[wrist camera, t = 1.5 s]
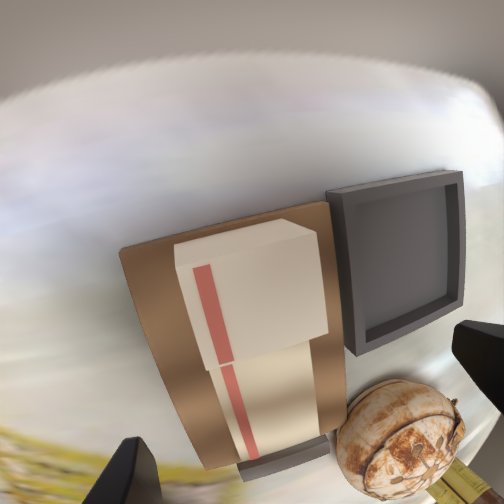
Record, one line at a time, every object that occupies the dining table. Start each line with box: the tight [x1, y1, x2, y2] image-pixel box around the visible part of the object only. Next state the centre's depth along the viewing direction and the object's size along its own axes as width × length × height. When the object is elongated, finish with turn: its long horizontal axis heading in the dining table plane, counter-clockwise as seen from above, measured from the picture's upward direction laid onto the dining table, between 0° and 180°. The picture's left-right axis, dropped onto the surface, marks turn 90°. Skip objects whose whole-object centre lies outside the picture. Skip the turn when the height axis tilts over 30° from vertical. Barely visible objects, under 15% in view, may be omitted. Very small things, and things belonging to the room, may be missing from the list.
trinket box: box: [336, 379, 466, 501], centre depth 23 cm, size 13×15×8 cm
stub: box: [174, 218, 328, 371], centre depth 16 cm, size 5×6×5 cm
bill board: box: [119, 201, 347, 482], centre depth 19 cm, size 18×12×4 cm, turn 11°
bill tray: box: [326, 170, 466, 357], centre depth 21 cm, size 11×11×2 cm
